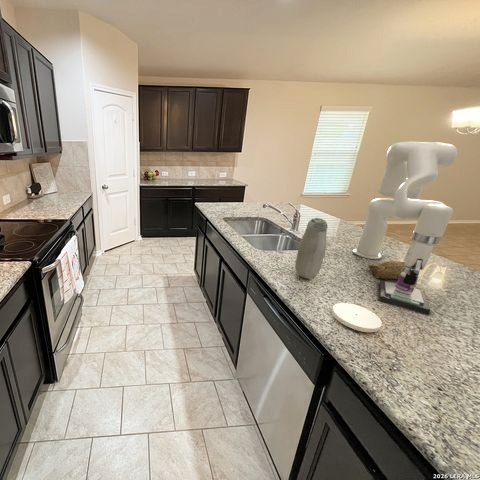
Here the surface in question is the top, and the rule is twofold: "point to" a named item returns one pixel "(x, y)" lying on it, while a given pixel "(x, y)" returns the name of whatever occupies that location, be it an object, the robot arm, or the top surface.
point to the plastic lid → (356, 317)
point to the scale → (403, 298)
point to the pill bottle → (402, 286)
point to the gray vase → (312, 249)
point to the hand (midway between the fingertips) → (407, 280)
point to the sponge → (388, 269)
